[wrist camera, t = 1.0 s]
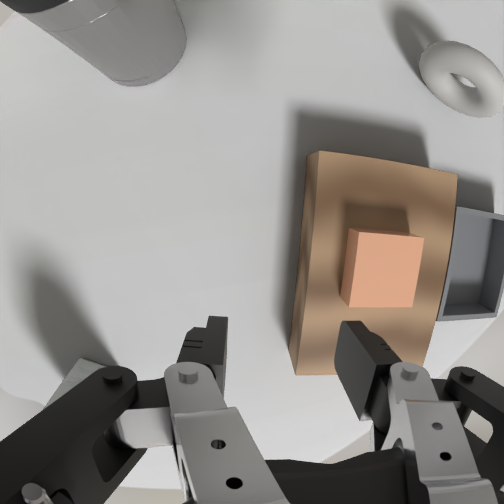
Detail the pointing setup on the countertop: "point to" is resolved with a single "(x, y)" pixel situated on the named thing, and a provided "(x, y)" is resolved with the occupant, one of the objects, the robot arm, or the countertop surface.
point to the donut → (470, 67)
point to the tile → (381, 268)
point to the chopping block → (335, 242)
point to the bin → (474, 267)
